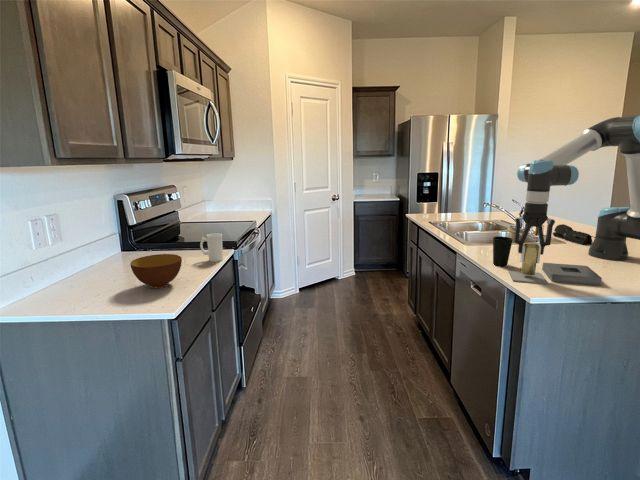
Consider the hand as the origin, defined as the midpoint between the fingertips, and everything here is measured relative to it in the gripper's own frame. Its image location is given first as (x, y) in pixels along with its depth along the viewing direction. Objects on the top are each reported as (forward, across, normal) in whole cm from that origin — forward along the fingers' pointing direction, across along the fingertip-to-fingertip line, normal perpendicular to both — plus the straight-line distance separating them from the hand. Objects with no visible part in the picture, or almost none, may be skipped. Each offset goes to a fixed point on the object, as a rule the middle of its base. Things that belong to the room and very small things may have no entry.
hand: (529, 261), depth 150 cm
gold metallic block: (+5, 0, 0) cm, 5 cm away
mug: (+7, +134, +13) cm, 135 cm away
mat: (+7, 0, 0) cm, 7 cm away
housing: (+7, -16, -6) cm, 18 cm away
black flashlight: (+7, -35, -77) cm, 85 cm away
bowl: (+7, +134, +49) cm, 143 cm away
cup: (+7, +8, -16) cm, 19 cm away
